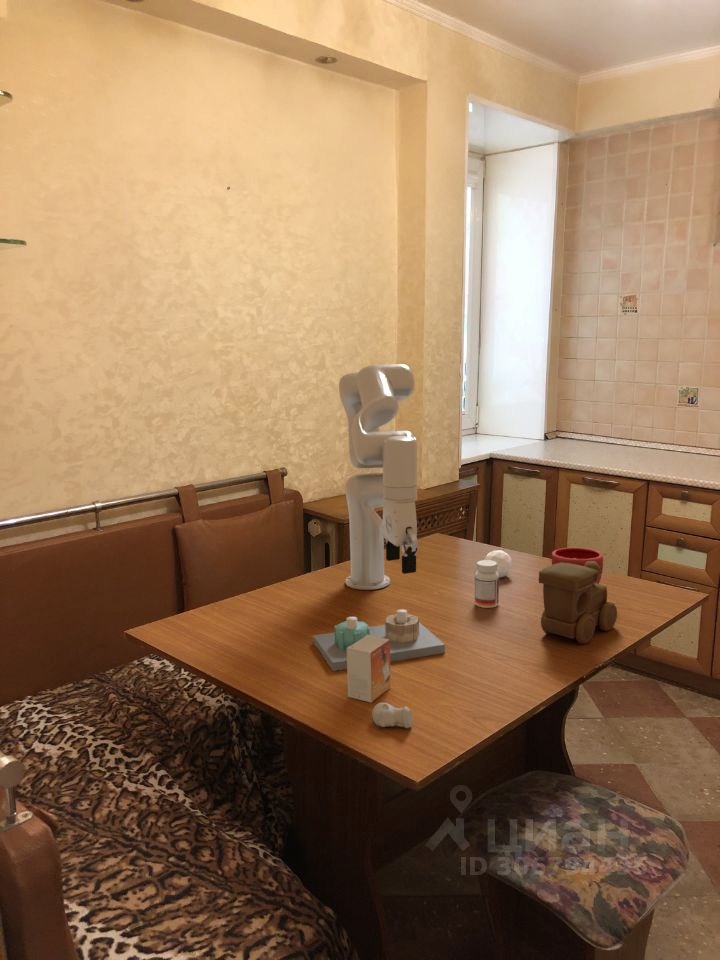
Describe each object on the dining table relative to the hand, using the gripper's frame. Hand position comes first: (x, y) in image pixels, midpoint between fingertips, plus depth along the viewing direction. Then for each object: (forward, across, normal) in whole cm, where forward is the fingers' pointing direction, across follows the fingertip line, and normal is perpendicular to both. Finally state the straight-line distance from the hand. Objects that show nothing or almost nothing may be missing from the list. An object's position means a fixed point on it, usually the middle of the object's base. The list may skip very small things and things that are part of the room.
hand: (400, 566), depth 179 cm
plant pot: (+19, -12, +55) cm, 59 cm away
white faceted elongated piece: (+20, -36, +44) cm, 60 cm away
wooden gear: (+17, +1, 0) cm, 17 cm away
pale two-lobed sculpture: (+18, +35, -16) cm, 42 cm away
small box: (+18, +21, -15) cm, 32 cm away
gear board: (+19, +1, -6) cm, 20 cm away
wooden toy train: (+19, +10, +41) cm, 46 cm away
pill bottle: (+19, -15, +30) cm, 39 cm away
